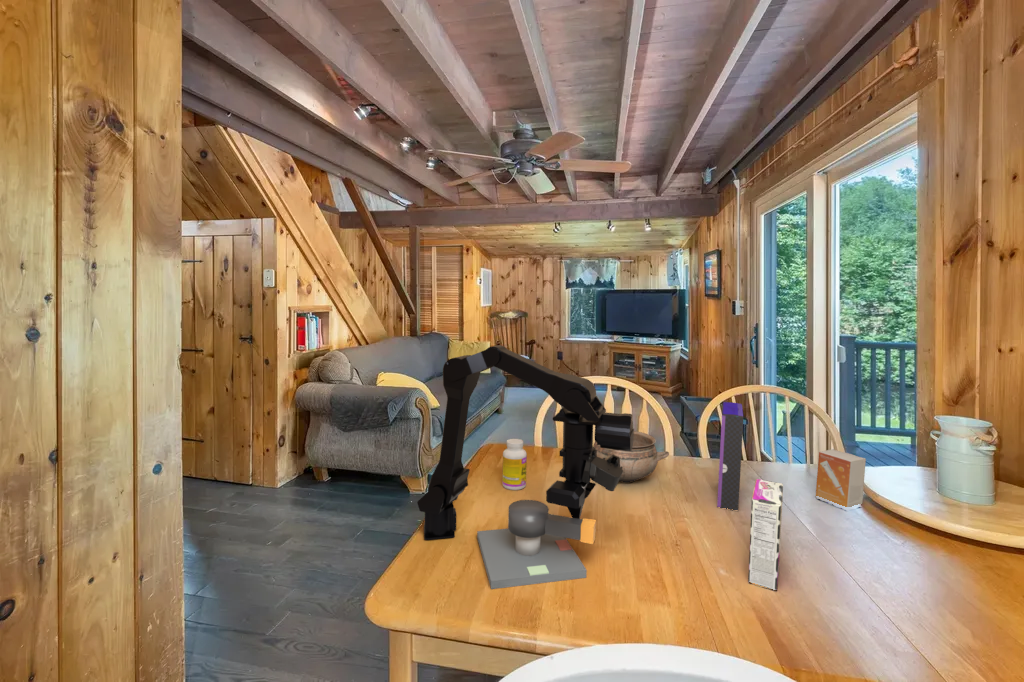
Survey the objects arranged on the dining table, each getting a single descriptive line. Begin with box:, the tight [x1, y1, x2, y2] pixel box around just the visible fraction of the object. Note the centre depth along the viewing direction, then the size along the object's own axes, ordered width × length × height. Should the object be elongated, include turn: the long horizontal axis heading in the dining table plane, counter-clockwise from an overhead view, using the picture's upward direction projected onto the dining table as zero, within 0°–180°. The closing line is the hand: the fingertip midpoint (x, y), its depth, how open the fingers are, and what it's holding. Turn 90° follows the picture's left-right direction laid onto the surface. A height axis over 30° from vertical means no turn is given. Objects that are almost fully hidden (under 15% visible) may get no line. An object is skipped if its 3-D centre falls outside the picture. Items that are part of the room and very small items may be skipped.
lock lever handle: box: [507, 499, 597, 545], centre depth 89 cm, size 17×8×4 cm, turn 71°
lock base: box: [476, 527, 588, 590], centre depth 91 cm, size 18×18×6 cm
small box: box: [815, 449, 867, 507], centre depth 117 cm, size 8×6×13 cm
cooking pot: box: [593, 430, 670, 484], centre depth 133 cm, size 25×19×12 cm
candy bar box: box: [747, 478, 784, 591], centre depth 86 cm, size 11×5×16 cm, turn 148°
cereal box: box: [716, 401, 744, 511], centre depth 120 cm, size 17×5×24 cm, turn 154°
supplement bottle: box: [502, 438, 528, 491], centre depth 126 cm, size 7×7×13 cm
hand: (576, 521), depth 89 cm, fingers closed
